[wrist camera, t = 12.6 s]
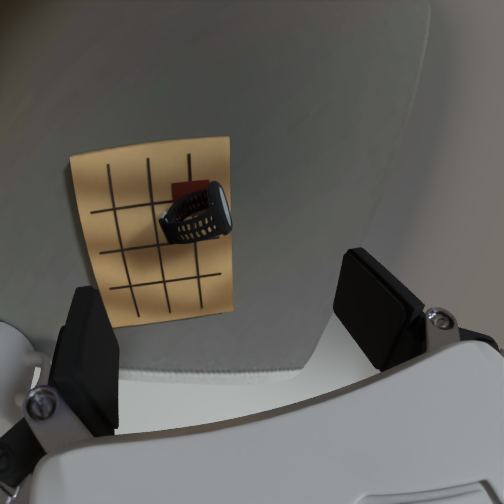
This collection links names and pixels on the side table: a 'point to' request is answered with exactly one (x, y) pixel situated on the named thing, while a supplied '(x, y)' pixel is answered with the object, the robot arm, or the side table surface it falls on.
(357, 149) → the side table surface
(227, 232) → the smartwatch
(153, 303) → the board
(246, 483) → the robot arm
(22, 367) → the mug
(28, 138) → the side table surface
